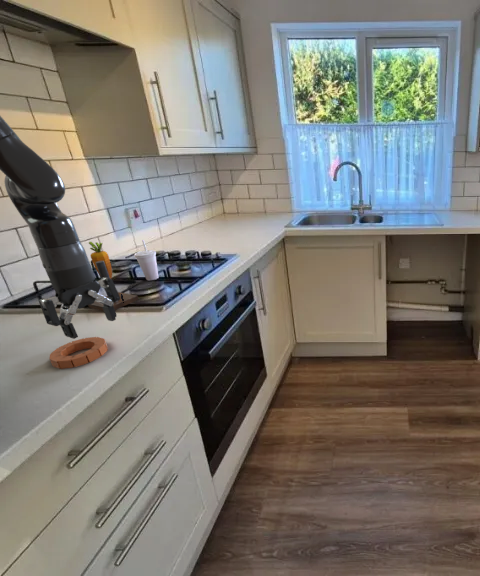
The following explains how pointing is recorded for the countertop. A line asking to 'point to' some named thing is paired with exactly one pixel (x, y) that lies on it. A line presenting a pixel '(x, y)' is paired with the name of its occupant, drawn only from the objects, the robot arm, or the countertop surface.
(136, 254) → the smoothie
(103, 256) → the carrot
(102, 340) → the hang ring
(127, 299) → the peg stand
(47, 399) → the countertop surface
